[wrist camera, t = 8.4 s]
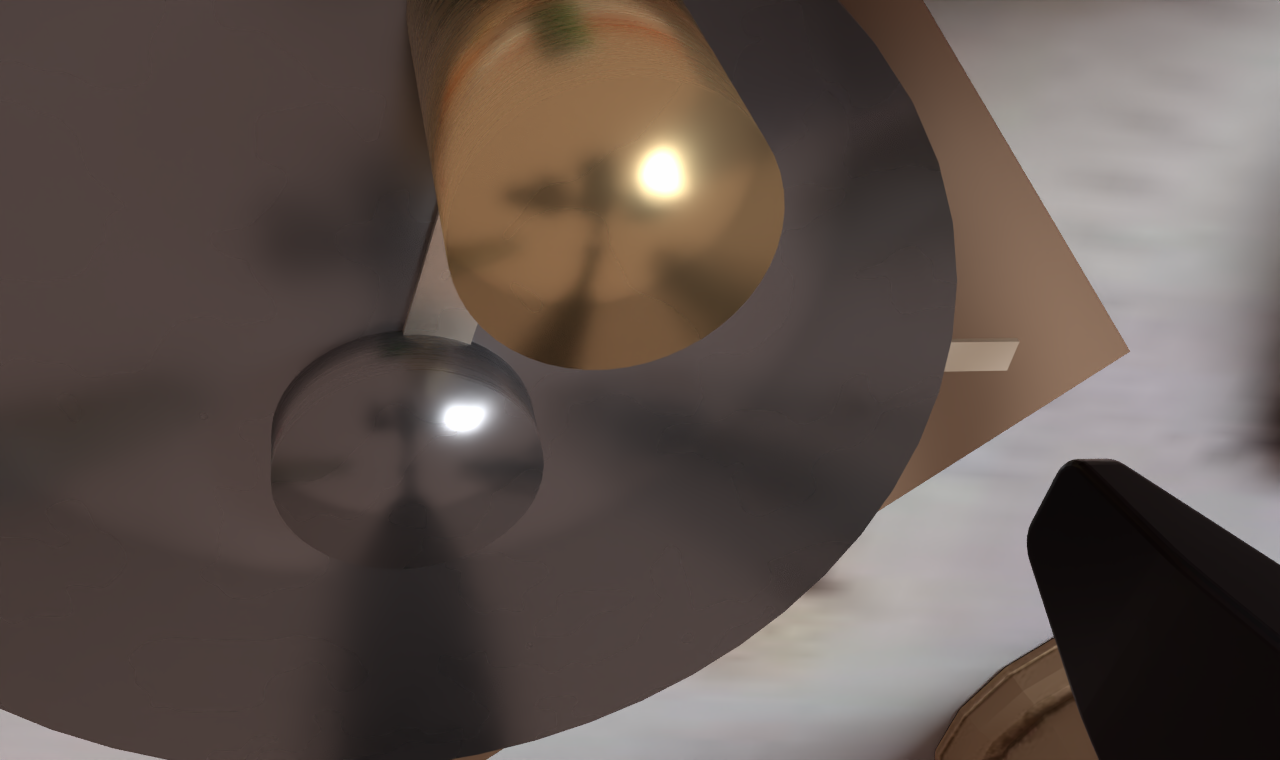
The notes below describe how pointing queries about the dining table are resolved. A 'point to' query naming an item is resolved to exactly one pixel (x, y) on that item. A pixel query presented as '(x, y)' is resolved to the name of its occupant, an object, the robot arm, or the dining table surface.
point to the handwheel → (439, 356)
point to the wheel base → (987, 261)
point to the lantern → (1021, 716)
